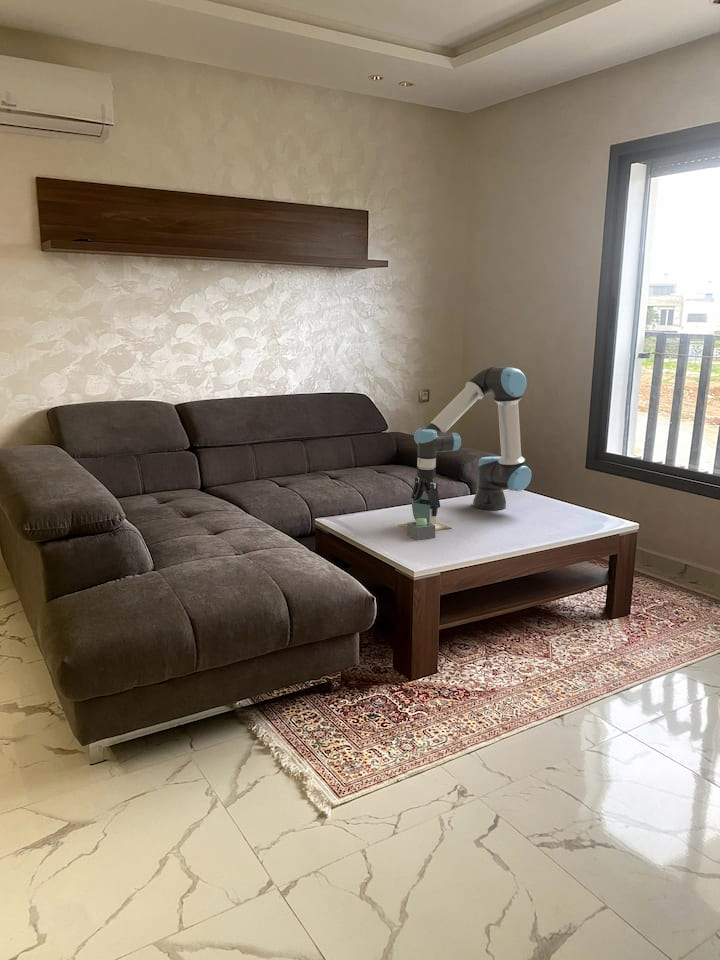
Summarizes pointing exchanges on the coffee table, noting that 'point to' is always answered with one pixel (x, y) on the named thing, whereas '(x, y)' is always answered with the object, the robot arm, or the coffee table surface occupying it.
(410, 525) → the button box
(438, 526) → the board
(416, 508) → the flower pot
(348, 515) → the coffee table surface
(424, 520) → the button
